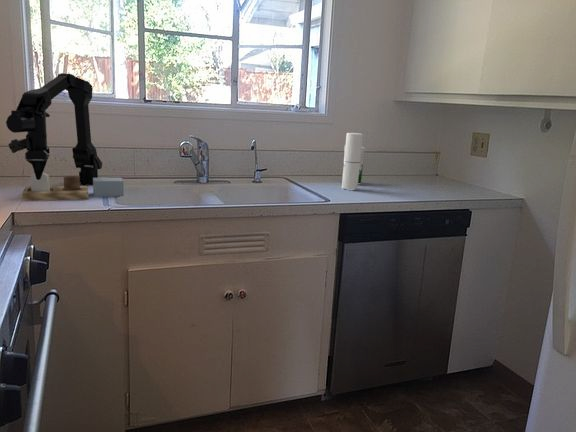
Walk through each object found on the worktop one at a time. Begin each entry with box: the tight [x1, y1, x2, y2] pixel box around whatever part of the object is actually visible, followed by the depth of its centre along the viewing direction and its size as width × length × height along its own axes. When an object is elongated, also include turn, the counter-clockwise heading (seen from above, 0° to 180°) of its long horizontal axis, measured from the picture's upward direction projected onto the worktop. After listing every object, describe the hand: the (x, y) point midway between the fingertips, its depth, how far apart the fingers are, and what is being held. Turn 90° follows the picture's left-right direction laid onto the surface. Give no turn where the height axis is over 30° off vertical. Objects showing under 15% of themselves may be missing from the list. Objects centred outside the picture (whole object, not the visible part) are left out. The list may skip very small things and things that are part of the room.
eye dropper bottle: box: [30, 171, 51, 191], centre depth 167 cm, size 4×6×12 cm
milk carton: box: [341, 145, 366, 183], centre depth 236 cm, size 9×9×20 cm
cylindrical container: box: [341, 132, 364, 190], centre depth 219 cm, size 7×7×25 cm
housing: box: [92, 177, 125, 198], centre depth 179 cm, size 10×7×6 cm
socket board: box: [21, 185, 89, 202], centre depth 171 cm, size 20×12×2 cm, turn 113°
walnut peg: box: [63, 175, 81, 191], centre depth 172 cm, size 5×4×7 cm
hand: (39, 177), depth 167 cm, fingers open, 9 cm apart
